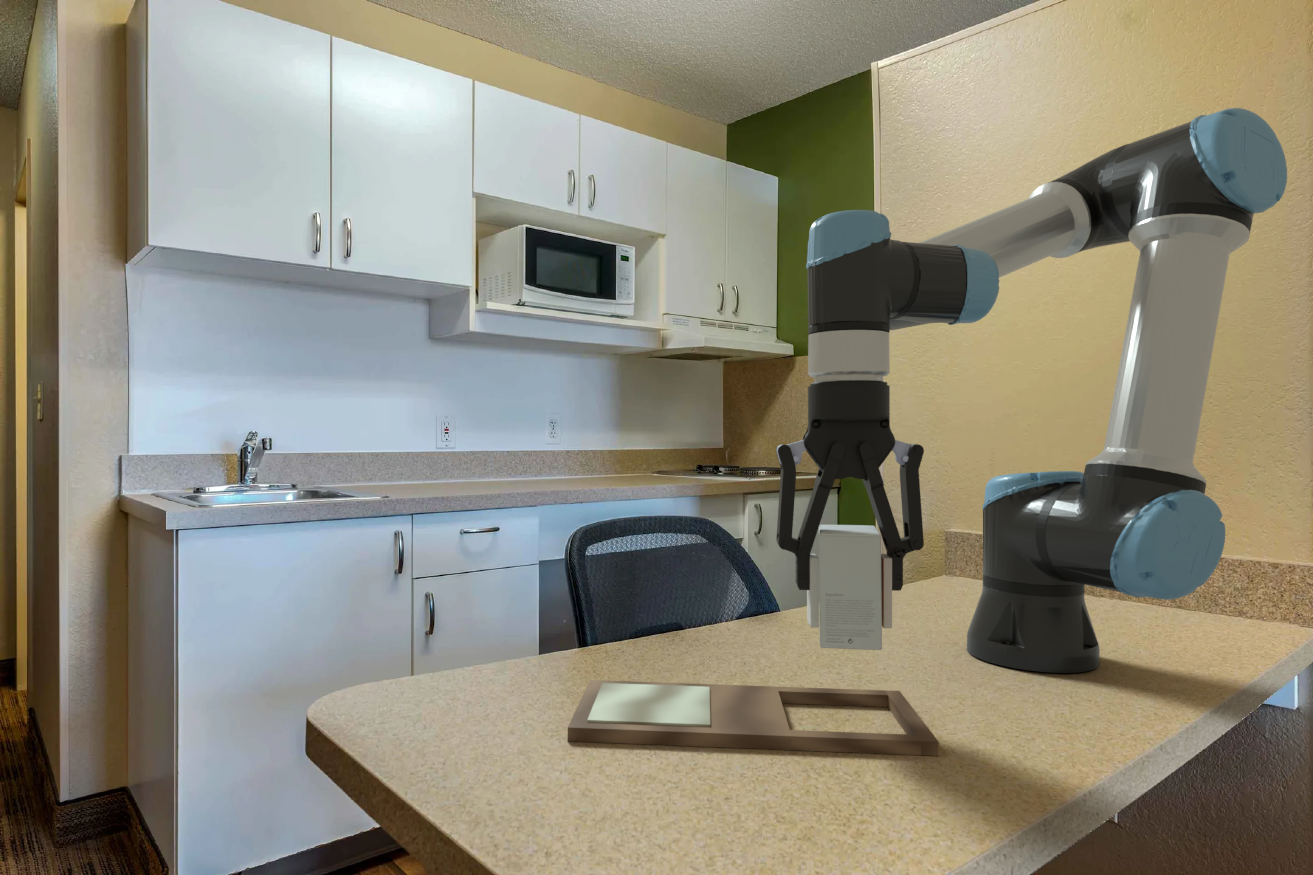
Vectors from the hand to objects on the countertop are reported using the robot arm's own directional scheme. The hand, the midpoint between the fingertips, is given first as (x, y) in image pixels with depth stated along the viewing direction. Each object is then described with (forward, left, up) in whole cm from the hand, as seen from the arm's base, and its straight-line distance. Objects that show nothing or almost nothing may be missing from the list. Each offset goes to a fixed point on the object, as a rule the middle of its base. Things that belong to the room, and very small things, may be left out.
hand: (848, 623), depth 77 cm
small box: (0, 0, -2) cm, 2 cm away
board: (+10, 0, -9) cm, 13 cm away
